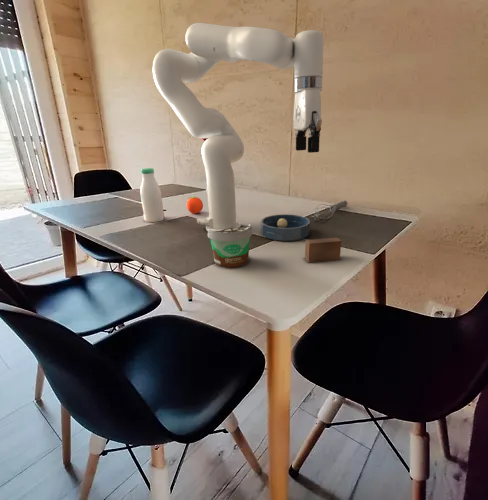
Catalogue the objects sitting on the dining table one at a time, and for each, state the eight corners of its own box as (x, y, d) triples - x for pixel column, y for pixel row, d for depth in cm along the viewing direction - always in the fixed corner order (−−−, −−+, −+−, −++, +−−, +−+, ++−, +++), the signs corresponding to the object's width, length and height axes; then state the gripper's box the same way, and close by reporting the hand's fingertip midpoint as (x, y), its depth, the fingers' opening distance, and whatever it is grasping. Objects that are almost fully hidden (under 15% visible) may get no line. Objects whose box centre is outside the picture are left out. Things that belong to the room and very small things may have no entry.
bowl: (267, 244, 97) (267, 230, 96) (257, 228, 112) (256, 216, 110) (316, 239, 100) (317, 226, 98) (300, 224, 115) (300, 213, 113)
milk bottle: (168, 218, 126) (162, 168, 118) (153, 223, 120) (145, 170, 112) (155, 216, 130) (148, 166, 122) (140, 220, 124) (131, 169, 116)
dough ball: (278, 230, 107) (278, 220, 106) (275, 227, 111) (275, 217, 109) (288, 229, 108) (288, 219, 107) (285, 226, 111) (285, 216, 110)
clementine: (182, 213, 133) (180, 196, 130) (195, 209, 138) (193, 193, 135) (194, 216, 128) (192, 199, 125) (207, 212, 133) (205, 196, 130)
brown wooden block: (308, 262, 84) (309, 243, 82) (304, 258, 86) (305, 240, 84) (339, 259, 85) (341, 240, 83) (335, 255, 88) (337, 237, 86)
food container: (216, 273, 79) (213, 236, 75) (209, 264, 84) (206, 229, 80) (260, 264, 83) (260, 229, 79) (251, 256, 88) (250, 222, 85)
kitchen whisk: (352, 205, 139) (354, 191, 137) (323, 226, 113) (324, 209, 111) (339, 204, 142) (340, 190, 140) (308, 223, 116) (309, 207, 114)
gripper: (285, 89, 92) (285, 150, 99) (306, 81, 76) (305, 154, 83) (309, 89, 94) (307, 148, 100) (335, 81, 78) (331, 152, 84)
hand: (306, 151), depth 91 cm, fingers open, 9 cm apart
